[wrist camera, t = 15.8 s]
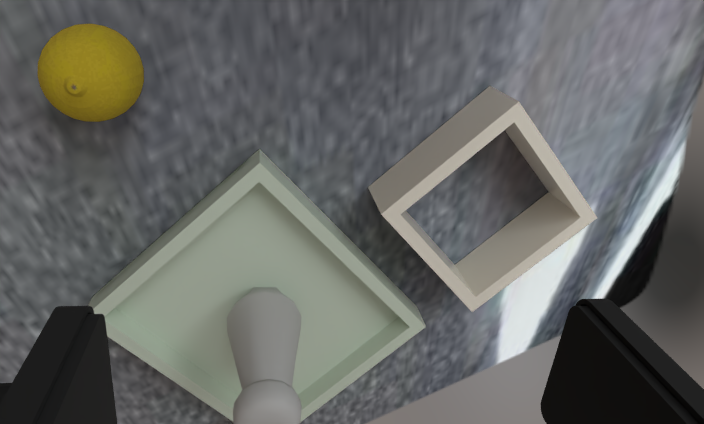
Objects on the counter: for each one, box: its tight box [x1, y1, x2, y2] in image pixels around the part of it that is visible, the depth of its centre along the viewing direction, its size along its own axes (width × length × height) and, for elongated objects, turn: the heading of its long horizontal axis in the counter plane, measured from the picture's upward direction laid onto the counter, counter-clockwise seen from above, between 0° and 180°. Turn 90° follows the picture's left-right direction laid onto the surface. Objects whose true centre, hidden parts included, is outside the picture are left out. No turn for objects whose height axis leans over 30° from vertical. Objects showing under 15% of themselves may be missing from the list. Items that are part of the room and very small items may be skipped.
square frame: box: [368, 86, 597, 312], centre depth 42 cm, size 12×12×5 cm
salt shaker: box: [227, 287, 302, 424], centre depth 39 cm, size 6×6×13 cm
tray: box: [88, 149, 426, 422], centre depth 44 cm, size 18×20×3 cm
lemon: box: [38, 24, 144, 122], centre depth 32 cm, size 6×6×8 cm
